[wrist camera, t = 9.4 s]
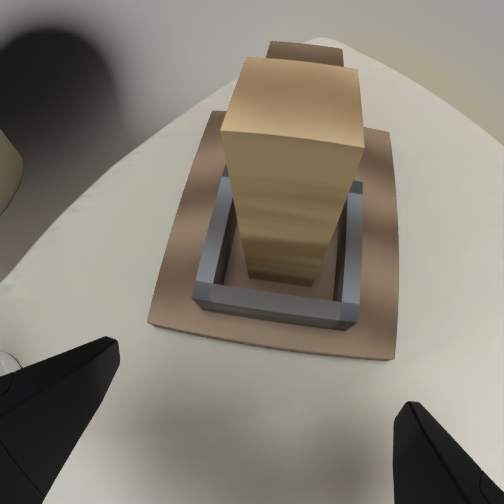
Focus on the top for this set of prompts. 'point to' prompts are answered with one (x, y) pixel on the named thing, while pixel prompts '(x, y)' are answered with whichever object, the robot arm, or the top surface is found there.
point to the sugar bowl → (9, 171)
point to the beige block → (291, 162)
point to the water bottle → (7, 364)
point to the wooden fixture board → (279, 294)
